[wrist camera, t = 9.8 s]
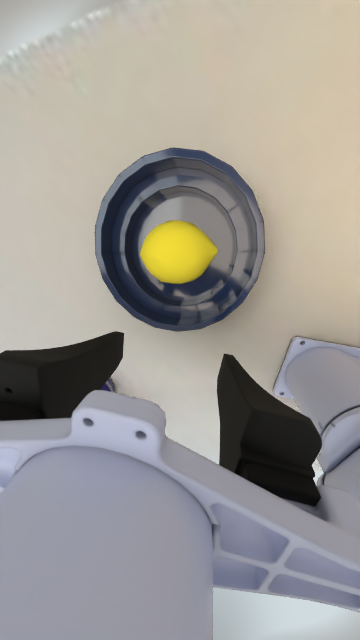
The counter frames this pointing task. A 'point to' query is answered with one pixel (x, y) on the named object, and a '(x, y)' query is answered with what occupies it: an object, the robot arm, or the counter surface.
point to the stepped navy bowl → (190, 206)
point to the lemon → (177, 252)
